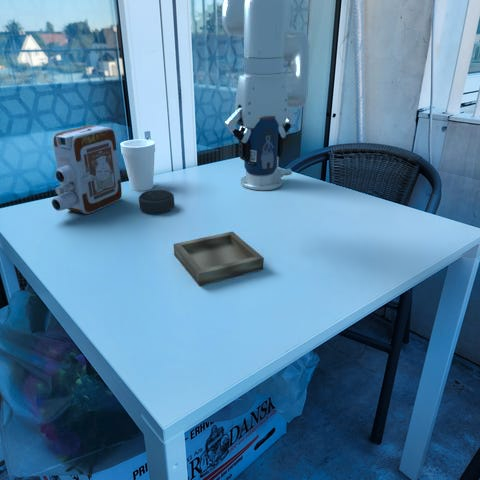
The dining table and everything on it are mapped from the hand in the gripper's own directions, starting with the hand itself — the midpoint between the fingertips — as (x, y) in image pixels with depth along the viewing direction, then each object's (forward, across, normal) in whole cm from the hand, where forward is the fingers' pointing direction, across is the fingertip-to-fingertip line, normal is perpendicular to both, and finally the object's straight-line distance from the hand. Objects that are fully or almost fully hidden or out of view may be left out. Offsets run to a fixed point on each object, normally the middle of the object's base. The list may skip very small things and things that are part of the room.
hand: (260, 157), depth 90 cm
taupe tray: (+17, +14, +9) cm, 24 cm away
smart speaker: (+18, +16, -24) cm, 34 cm away
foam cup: (+18, +16, -42) cm, 49 cm away
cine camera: (+18, +32, -32) cm, 49 cm away
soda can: (+4, 0, 0) cm, 4 cm away
